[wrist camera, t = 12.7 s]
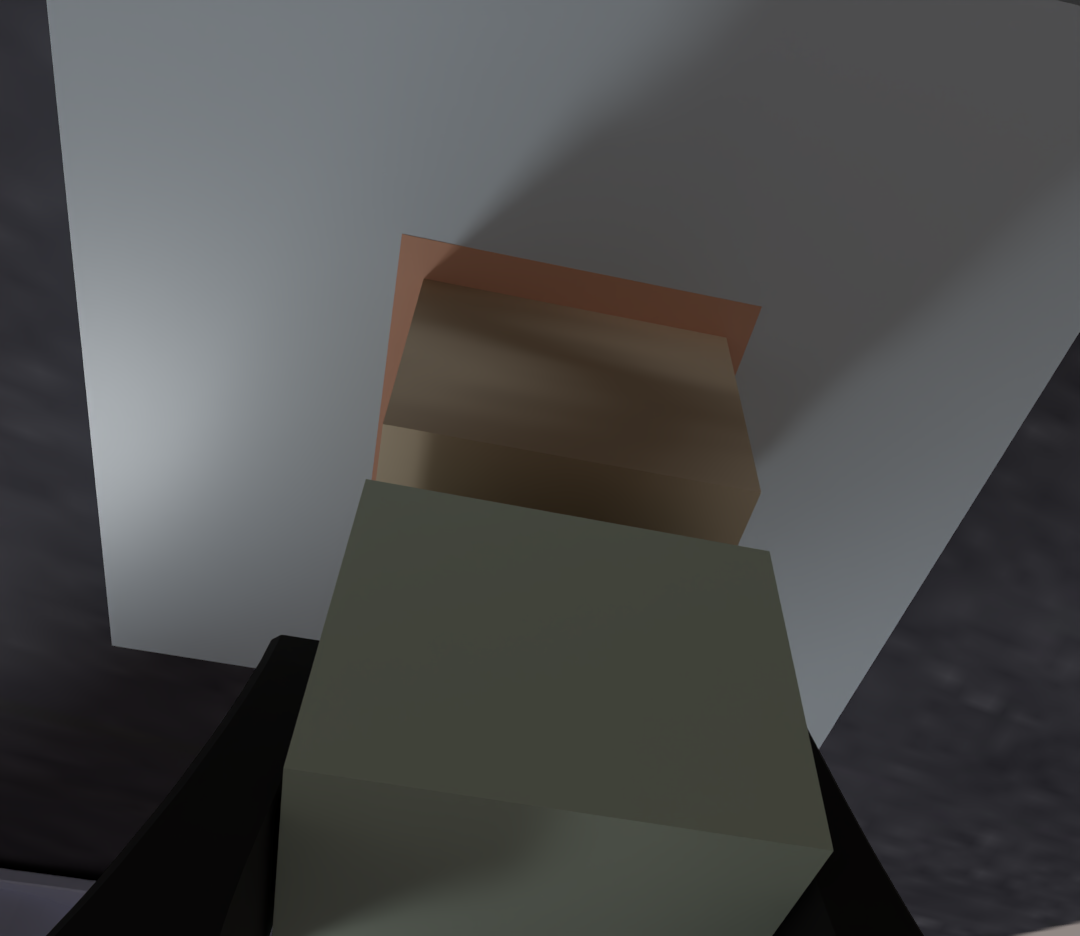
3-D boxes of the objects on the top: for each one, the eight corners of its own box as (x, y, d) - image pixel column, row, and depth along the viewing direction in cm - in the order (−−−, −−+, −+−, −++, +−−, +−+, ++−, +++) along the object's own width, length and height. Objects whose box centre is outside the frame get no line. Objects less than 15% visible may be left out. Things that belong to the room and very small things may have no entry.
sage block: (335, 732, 15) (267, 1014, 12) (365, 478, 12) (283, 768, 8) (658, 782, 15) (678, 1066, 12) (768, 551, 12) (833, 850, 9)
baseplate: (122, 625, 22) (111, 645, 21) (43, -251, 12) (20, -249, 12) (809, 735, 23) (814, 756, 23) (1233, 36, 14) (1256, 49, 13)
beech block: (391, 511, 19) (351, 676, 15) (424, 277, 16) (383, 423, 12) (646, 555, 19) (658, 724, 16) (726, 337, 16) (761, 492, 13)
